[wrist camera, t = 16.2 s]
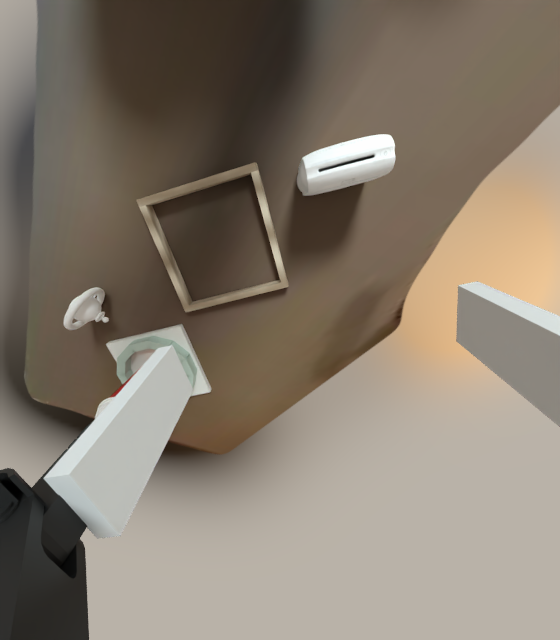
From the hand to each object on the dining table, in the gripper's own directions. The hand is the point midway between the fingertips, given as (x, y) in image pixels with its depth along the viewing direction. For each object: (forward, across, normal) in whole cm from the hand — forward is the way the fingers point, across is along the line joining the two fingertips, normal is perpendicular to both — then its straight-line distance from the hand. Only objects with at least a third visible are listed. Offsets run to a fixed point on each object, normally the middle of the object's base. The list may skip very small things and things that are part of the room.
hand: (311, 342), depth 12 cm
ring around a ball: (+32, -34, -2) cm, 47 cm away
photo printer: (+32, +7, +8) cm, 34 cm away
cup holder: (+32, -30, -17) cm, 47 cm away
